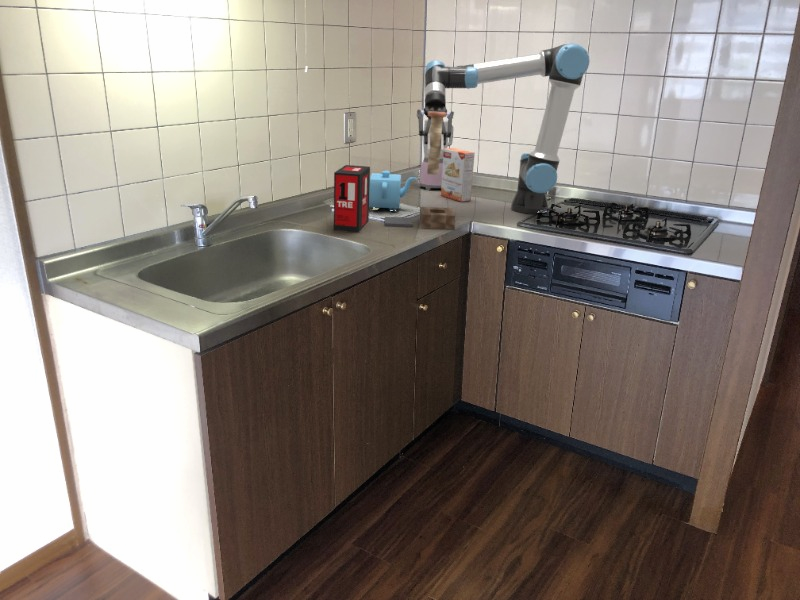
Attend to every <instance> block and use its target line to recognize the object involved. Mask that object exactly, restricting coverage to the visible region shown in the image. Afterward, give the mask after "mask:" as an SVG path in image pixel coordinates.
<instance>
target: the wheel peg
mask: <svg viewBox="0 0 800 600" xmlns="http://www.w3.org/2000/svg"><path fill="white" fill-rule="evenodd" d="M446 114H447V113H446V112H437V111H429V112H428V116H431V128H430V153H429V156H428V170H427V173H428V174H433V175H436V174H438V173H439V160H440V145H441V134H442V121H443V120H444V118H447V115H446Z"/></svg>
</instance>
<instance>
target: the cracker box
mask: <svg viewBox="0 0 800 600" xmlns="http://www.w3.org/2000/svg"><path fill="white" fill-rule="evenodd" d="M475 154H476V153H475V152H473V151H469V150H465V149H460V148H456V147H455V148H454V147H447V148H445V149H444V154H443V170H442V185H441V188H440V196H441V197H445V198H447V199H450V200H454V201H457V202H459V203H464V202H469V201H471V199H472V187H473V177H474V163H475Z"/></svg>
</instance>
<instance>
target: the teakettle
mask: <svg viewBox="0 0 800 600" xmlns="http://www.w3.org/2000/svg"><path fill="white" fill-rule="evenodd" d="M416 179H417V177H416V176H414V177H413V176H412V177H408V179H406V181H405V184H404V186H403V187H401V185H402V175H401V174H398V173H397V174H396V173H395V174H393V173H391V171H389V170H383V171H381V173H378V172H377V173H373V172H372V173H371V174H370V188H369V208H373V207H375V208H379V209H382V208H383V209H388V210H393V211H395V210H397V209H400V205H401V199H402V198H403V197H404V196H406V194H407V193H408V191H409V189H410V185H411V183H412V182H413V181H414V180H416Z"/></svg>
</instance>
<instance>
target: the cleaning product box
mask: <svg viewBox="0 0 800 600" xmlns="http://www.w3.org/2000/svg"><path fill="white" fill-rule="evenodd" d="M333 173H334V174H333V231H336V232H337V231H338V232H349V233H350V232H351V233H352V232H353V233H360V232H361V230H362V229H363V228H364V227H365V226H366V224H368V222H369V221H370V220H369V219H370V216H369V215H370V213H369V211H370V207H369V188H370V177H371V167H370V166H368V165H367V166H364V165H353V164H351V165H350V164H345V165H343V166H342V167H340V168H338V170H336V171H333Z"/></svg>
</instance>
